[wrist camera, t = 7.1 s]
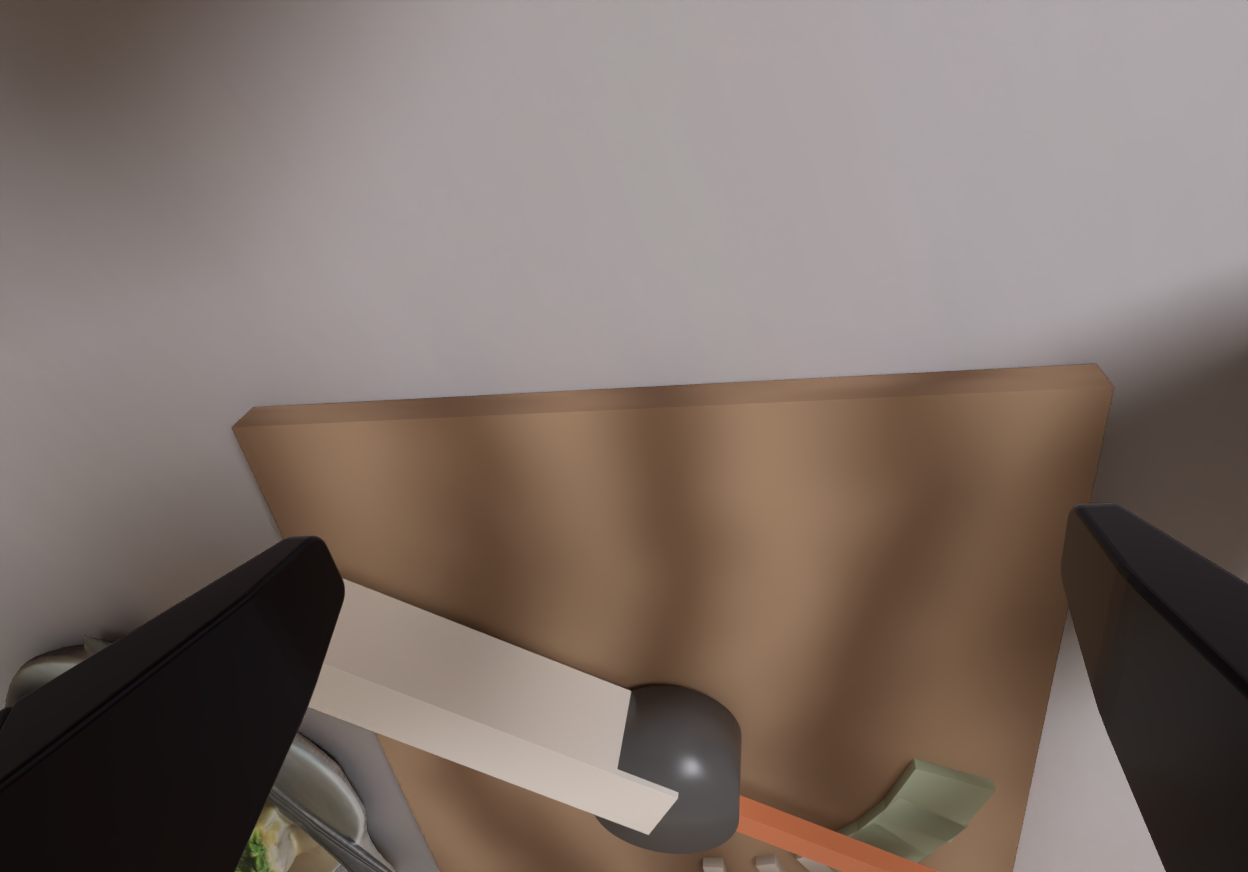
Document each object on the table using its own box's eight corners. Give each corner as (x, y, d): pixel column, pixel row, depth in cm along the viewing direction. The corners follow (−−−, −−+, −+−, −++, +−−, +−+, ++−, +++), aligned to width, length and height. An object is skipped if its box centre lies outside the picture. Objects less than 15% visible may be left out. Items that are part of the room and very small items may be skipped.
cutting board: (1096, 363, 20) (1120, 394, 18) (993, 899, 33) (1002, 940, 31) (253, 407, 25) (223, 434, 23) (454, 858, 38) (443, 892, 36)
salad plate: (485, 783, 34) (449, 890, 31) (345, 922, 44) (305, 1017, 40) (59, 568, 31) (-41, 658, 27) (6, 769, 40) (-74, 857, 36)
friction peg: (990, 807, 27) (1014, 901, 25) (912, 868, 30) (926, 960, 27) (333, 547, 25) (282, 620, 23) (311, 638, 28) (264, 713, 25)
